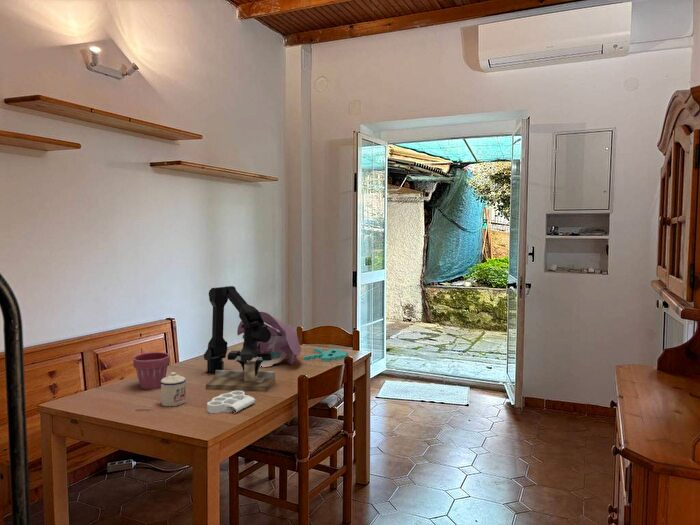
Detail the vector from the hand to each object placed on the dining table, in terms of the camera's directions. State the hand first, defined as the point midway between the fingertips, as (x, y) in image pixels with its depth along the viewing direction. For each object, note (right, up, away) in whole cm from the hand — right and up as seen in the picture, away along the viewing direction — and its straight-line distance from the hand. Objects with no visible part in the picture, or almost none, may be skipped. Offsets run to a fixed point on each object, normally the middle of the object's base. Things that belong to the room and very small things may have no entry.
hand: (251, 375), depth 210 cm
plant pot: (-41, -4, -3) cm, 41 cm away
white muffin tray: (-3, -6, -26) cm, 27 cm away
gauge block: (0, -2, 0) cm, 2 cm away
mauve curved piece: (+2, -2, +36) cm, 37 cm away
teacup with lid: (-24, -5, -22) cm, 33 cm away
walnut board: (-4, -4, -1) cm, 6 cm away
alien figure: (+31, -2, +50) cm, 58 cm away
